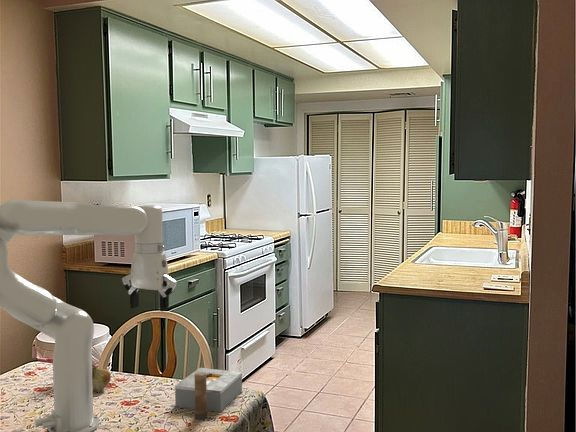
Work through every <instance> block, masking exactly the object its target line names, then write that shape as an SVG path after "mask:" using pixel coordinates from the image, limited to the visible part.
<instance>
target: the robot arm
mask: <svg viewBox="0 0 576 432" xmlns="http://www.w3.org/2000/svg"><path fill="white" fill-rule="evenodd" d="M17 235H19V236H100V235H101V236H103V235H104V236H133V235H134V248H135V250H134V253H133V256H132V259H131V260H132V261H131V266H130V267H131V268H130V273H129V274H128V275H125V276H124V277H122V278H121V281H122V283H123V285H124V288H125V290H126V291H127V293H128V295H129V304H130V309H135V308H137V307H139V305H140V303H139V299H140V294H139V292H138V291H139V290H149V291H150V290H151V291H158V292H159V294H160V295H161V297H160V298H159V305H160V306H159V307H160V308H159V310H160V312H165V311H168V309H169V306H170V298H169V297H170V296H171V294H172V293H173V292H175V289H176V286H177V284H178V281H177V280H175V279H174V278H172V277H171V276H169V266H168V260H167V255H166V253H163V252H164V251H165V252H166V250H167V246H166V245H164V243H163V209H162V207H161V205H154V204H149V205H148V204H147V205H145V204H144V205H143V204H141V205H138V206H135V205H123V204H116V205H102V204H101V205H99V204H93V203H85V202H80V201H79V202H77V201H53V200H52V201H50V200H49V201H45V200H21V199H10V200H7V201H5V202H3V203H1V204H0V309H1V310H3V311H5V312H7V313H8V314H9V315H10V316H11V317H12V318H14V319H15V320H18V321H19V322H22V323H23V324H25V325H27V326H29V327H31V328H32V329H35V330H37V331H38V332H40V333H42V334H44V335H46V336H48V337H50V338H51V339H53V340H54V348H53V349H54V350H53V355H52V378H53V379H52V380H53V410H51V411H50V412H51V413H50V414H49V415H47V416H46V417H41V418H40V417H39V418H36V419H34V427H35V428H38V427H41V428H42V429H47V428H48V432H94V430H96V429H97V428H98V427H99V426H100V424H101V421H100V420H101V419H100V417H99V416H98V415H96V414H94V398H93V397H94V395H93V394H94V393H93V392H94V391H93V386H92V365H93V358H92V354H93V351H92V350H93V344H92V342H93V341H94V334H95V325H94V321H93V319H92V317H91V316H90V315H89V314H88V313H87V312H86V311H85V310H83V309H81V308H78V307H76V306H73V305H72V304H68V303H66V302H65V301H63V300H62V299H60V298H58V297H55V296H54V295H53V294H52V293H50V291H48V290H47V289H46V288H43V287H42V286H39V285H37V284H34V283H33V282H30V281H29V280H27V279H26V278H24V277H22V276H21V275H19V274H17V273H16V272H15V271H13V270H12V269H11V268H10V266H9V259H8V258H9V252H8V246H7V244H8V243H9V242H10V241H12V240H13V239H14V238H15V237H16V236H17ZM93 343H94V342H93Z"/></svg>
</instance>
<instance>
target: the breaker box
mask: <svg viewBox="0 0 576 432" xmlns="http://www.w3.org/2000/svg"><path fill="white" fill-rule="evenodd" d="M199 372H204V373H206V378H208V377H218V379H217V380H213V379H206V380H207V411H209V412H216V413H221V412H222V411H223V410H225V409H226V407H228V406H229V405H230V404H231V403H232V401H234V400H235V399H236V398H237V397H238V395H240V394H241V393H242V392H243V372H242V371H233V370H226V369H225V370H224V369H214V368H207V367H198V368H197V369H196V370H195V371H193V372H192V373H191V374H189V375H187V376H186V377H185V378H184V379H182V380H181V381H180V382H178V383H177V384H176V385H174V386H175V387H174V388H175V390H174V391H175V392H174V395H175V396H174V397H175V399H174V400H175V404H174V406H175V407H178V408H179V407H180V408H187V409H194V410H195V373H199Z"/></svg>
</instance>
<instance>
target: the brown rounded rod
mask: <svg viewBox="0 0 576 432" xmlns="http://www.w3.org/2000/svg"><path fill="white" fill-rule="evenodd" d="M194 418H195V420H199V421H200V420H206V419H207V418H208V410H207V380H206V373H204V372H199V373H195V409H194Z"/></svg>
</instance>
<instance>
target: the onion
mask: <svg viewBox="0 0 576 432" xmlns="http://www.w3.org/2000/svg"><path fill="white" fill-rule="evenodd" d="M111 378H112V376H111V372H110V371H109V370H108V369H105V368H103V367H97V366H96V364H92V386H93V392H96V393H97V392H100V391H103V390H104V389H105V388H107V387H108V385H109V384H110V382H111Z"/></svg>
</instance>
